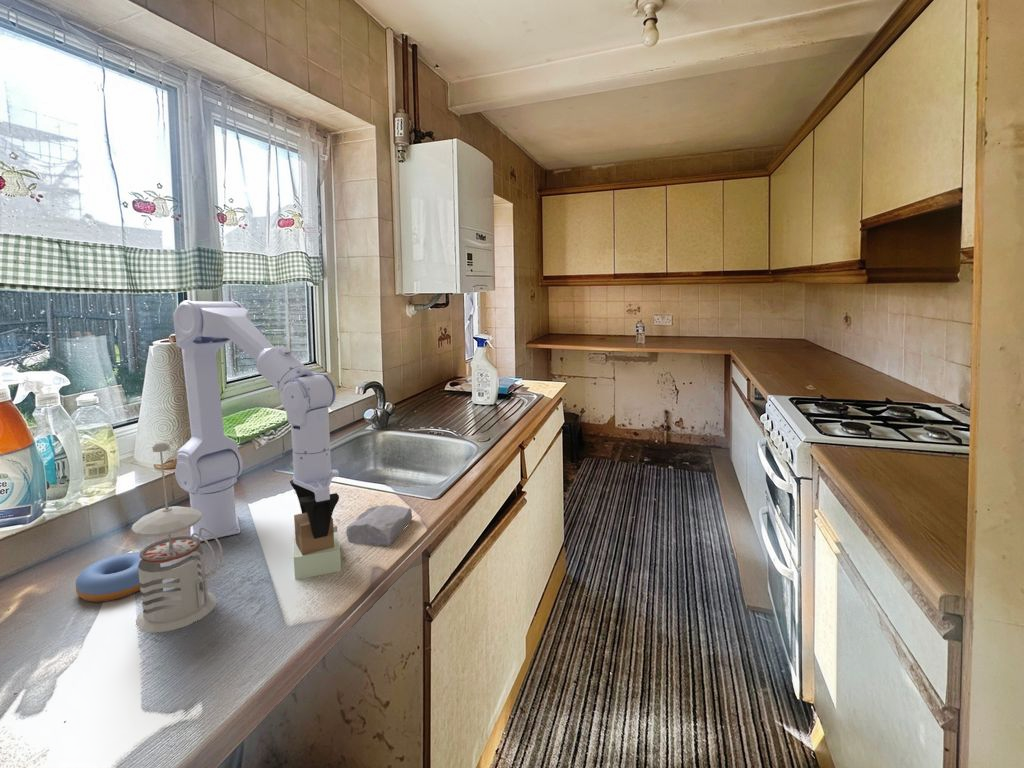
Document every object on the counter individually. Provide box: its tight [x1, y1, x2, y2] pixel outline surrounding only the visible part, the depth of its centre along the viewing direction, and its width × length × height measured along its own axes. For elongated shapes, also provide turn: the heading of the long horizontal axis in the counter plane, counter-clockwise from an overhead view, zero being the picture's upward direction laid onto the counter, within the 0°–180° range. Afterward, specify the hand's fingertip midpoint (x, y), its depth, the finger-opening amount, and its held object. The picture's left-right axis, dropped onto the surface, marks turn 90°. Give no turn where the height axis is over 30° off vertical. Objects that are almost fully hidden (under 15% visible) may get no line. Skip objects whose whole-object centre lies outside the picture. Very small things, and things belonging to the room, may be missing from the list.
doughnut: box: [75, 551, 142, 603], centre depth 77 cm, size 10×10×5 cm
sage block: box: [293, 531, 342, 580], centre depth 84 cm, size 7×7×4 cm
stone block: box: [345, 504, 413, 547], centre depth 97 cm, size 12×5×10 cm
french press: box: [131, 441, 223, 634], centre depth 70 cm, size 10×12×25 cm
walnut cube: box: [293, 512, 334, 555], centre depth 83 cm, size 5×5×5 cm
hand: (315, 527), depth 83 cm, fingers open, 7 cm apart
